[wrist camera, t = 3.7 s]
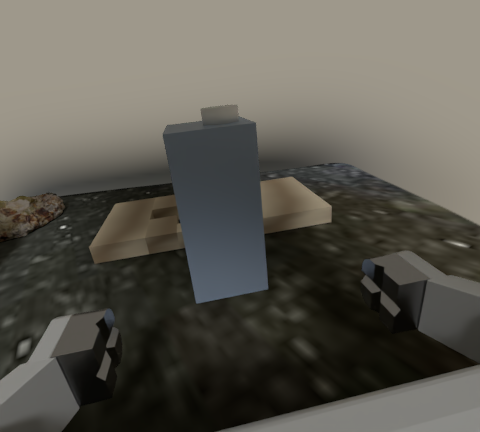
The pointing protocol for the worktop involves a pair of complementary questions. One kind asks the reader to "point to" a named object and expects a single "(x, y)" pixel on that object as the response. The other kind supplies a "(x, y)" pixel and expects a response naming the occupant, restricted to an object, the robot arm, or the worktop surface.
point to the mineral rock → (28, 214)
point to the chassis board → (169, 229)
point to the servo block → (219, 202)
